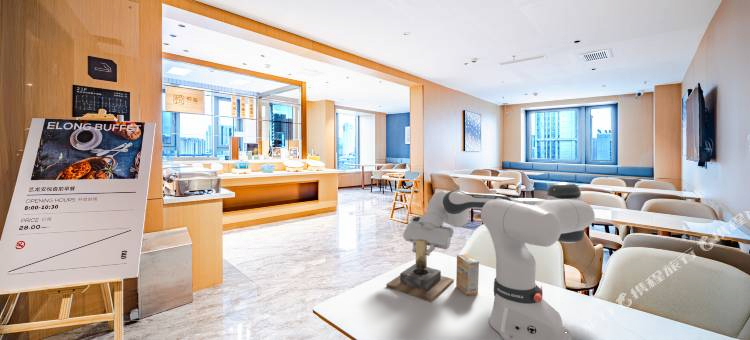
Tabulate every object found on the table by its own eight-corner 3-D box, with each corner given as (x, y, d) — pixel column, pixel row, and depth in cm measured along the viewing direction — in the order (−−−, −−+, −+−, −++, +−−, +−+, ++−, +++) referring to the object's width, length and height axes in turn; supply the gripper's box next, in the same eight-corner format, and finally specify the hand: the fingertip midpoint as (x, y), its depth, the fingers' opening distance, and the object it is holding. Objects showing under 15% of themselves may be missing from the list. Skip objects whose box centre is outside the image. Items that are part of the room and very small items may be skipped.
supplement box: (455, 286, 122) (456, 254, 121) (465, 284, 123) (466, 253, 122) (467, 296, 114) (468, 262, 113) (478, 294, 115) (479, 260, 114)
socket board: (453, 281, 126) (453, 269, 125) (432, 302, 110) (432, 288, 109) (411, 270, 138) (411, 259, 137) (386, 286, 122) (386, 274, 121)
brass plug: (428, 266, 124) (428, 240, 123) (423, 270, 121) (423, 243, 120) (419, 264, 127) (419, 238, 126) (413, 267, 123) (413, 241, 122)
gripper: (456, 232, 125) (446, 262, 119) (413, 224, 138) (402, 252, 131) (452, 224, 122) (442, 255, 115) (408, 217, 134) (396, 244, 127)
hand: (420, 253), depth 123 cm, fingers closed on brass plug, 4 cm apart
